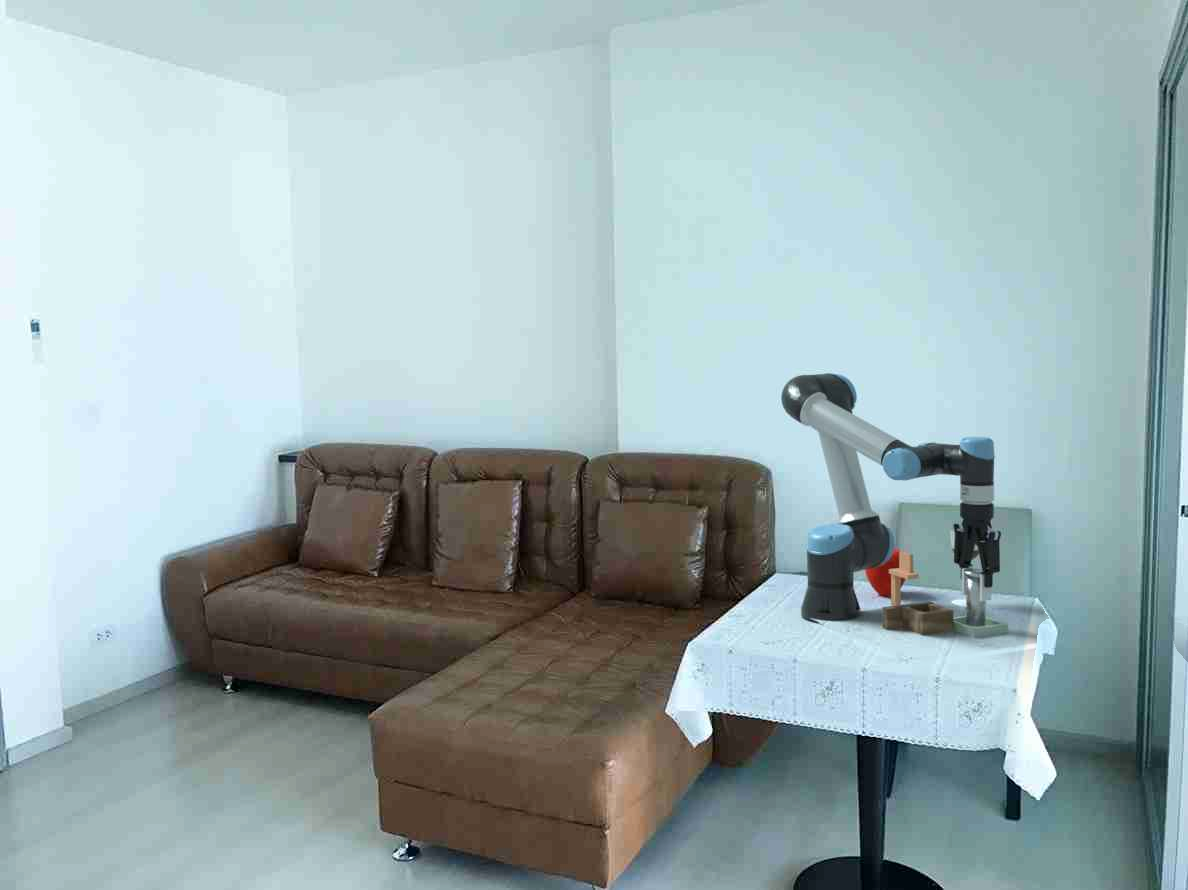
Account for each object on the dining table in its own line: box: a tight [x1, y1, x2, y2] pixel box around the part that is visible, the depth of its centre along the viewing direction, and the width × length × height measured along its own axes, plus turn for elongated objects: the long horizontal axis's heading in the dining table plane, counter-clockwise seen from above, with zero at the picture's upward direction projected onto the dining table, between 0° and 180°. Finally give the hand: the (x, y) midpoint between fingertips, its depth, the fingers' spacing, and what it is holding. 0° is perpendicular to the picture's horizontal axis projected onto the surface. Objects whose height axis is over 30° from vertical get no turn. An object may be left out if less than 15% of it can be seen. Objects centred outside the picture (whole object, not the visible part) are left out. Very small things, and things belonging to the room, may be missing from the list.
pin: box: [964, 567, 987, 627], centre depth 235 cm, size 6×6×13 cm
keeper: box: [889, 551, 920, 607], centre depth 236 cm, size 7×3×13 cm, turn 20°
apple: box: [864, 548, 907, 597], centre depth 275 cm, size 12×12×13 cm
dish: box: [953, 615, 1009, 639], centre depth 236 cm, size 10×10×3 cm
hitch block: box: [882, 600, 954, 636], centre depth 237 cm, size 9×14×6 cm, turn 110°
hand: (976, 597), depth 235 cm, fingers closed on pin, 5 cm apart
